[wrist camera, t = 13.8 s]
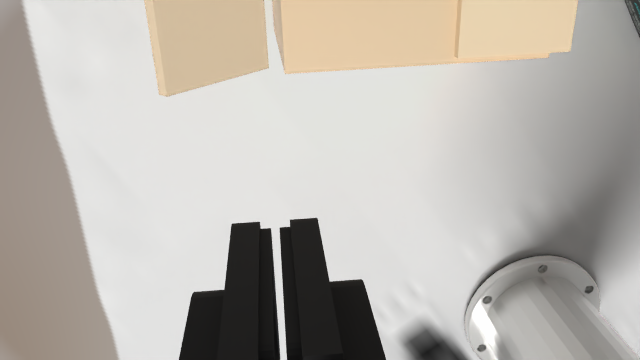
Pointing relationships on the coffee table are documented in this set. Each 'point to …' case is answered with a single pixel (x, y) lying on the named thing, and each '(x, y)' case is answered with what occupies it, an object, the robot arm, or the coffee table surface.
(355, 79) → the coffee table surface
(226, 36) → the flap
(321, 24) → the carton
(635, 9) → the tampon box
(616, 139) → the coffee table surface
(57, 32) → the coffee table surface
